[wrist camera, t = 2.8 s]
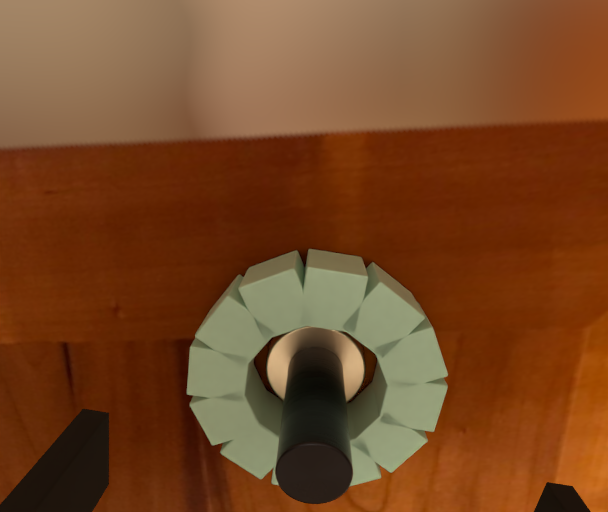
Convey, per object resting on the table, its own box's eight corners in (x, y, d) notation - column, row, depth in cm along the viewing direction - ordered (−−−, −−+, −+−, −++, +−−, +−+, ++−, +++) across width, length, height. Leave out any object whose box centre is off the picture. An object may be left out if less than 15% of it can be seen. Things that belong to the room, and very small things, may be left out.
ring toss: (249, 363, 18) (214, 480, 12) (308, 296, 17) (302, 388, 11) (322, 413, 19) (323, 549, 13) (383, 353, 18) (417, 469, 12)
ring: (161, 370, 19) (139, 403, 16) (297, 201, 16) (293, 212, 14) (329, 481, 20) (331, 525, 18) (478, 345, 18) (501, 377, 15)
